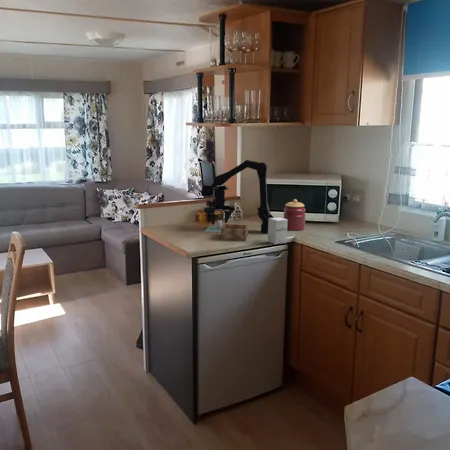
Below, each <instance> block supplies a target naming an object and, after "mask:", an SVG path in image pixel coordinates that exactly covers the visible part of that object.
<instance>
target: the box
mask: <svg viewBox="0 0 450 450" xmlns="http://www.w3.org/2000/svg"><path fill="white" fill-rule="evenodd" d="M222 226H223V227H222V229H221V233H220V240H221V241H237V242H247V238H248V236H249V233H248V232H249V225H248V224H239V223H237V224H235V223H223V224H222Z"/></svg>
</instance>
